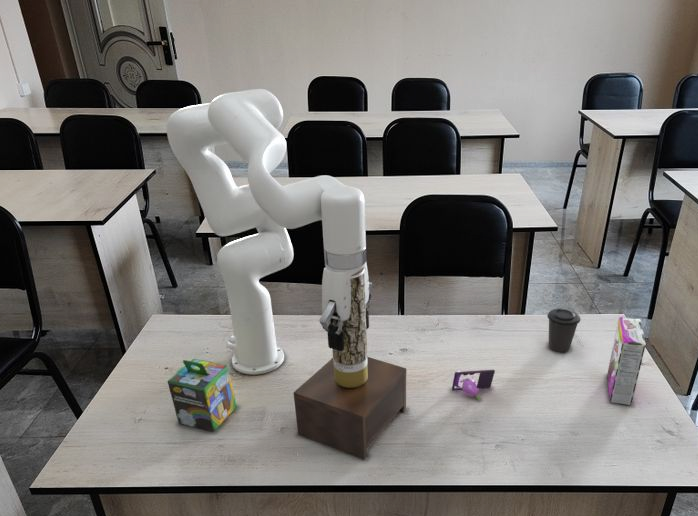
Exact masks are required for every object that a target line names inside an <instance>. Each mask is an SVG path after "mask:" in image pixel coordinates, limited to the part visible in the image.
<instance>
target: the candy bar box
mask: <svg viewBox="0 0 698 516" xmlns="http://www.w3.org/2000/svg"><path fill="white" fill-rule="evenodd" d="M617 319H618V320H617V325H616V328H615V329H616V330H615V334H614V339H613V343H612V344H613V345H612V348H611V355H610V359H609V363H608V369H607V373H606V379H607V387H608V395H609V396H608V398H609V403H610V404H615V405H624V406H632V404H633V399H634V395H635V391H636V389H637V388H636V387H637V383H638V379H639V374H640V372H641V371H640V370H641V367H642V363H643V358H644V353H645V350H646V346H647V345H646V339H645V334H644V329H643V324H642V320H641V318H633V317H625V316H618V318H617Z"/></svg>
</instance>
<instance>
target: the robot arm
mask: <svg viewBox="0 0 698 516" xmlns="http://www.w3.org/2000/svg"><path fill="white" fill-rule="evenodd" d="M283 122H284V110H283V107H282V105H281V102H280V100H279V99H278V98H277V96H276V95H274V94H273V93H272V92H271V91H269V90H267V89H264V88H253V89H247V90H239V91H232V92H227V93H224V94H221V95H219V96H217V97H215V98H214V99H213V100H212V101H211V102H209V103H200V104H196V105H195V104H194V105H189V106H186V107H183V108H180V109H178V110H176V111H174V112H173V113H171V114H170V116H169V118H168V119H167V122H166V135H167V140H168V144H169V146H170V148H171V151H172V153H173V154H174V156H175V158H176V159H177V161H178V163H179V164H180V165H181V167H182V168H183V170H184V171H185V173H186V175H187V176H188V178H189V180H190V182H191V184H192V187H193V189H194V192H195V194H196V197H197V200H198V202H199V204H200V207H201V210H202V212H203V214H204V217H205V219H206V221H207V224H208V226H209V227H210V229H211V231H212V232H213V233H214V234H215V235H217V236H219V237H228V236H233V235H236V234H240V233H243V232H246V231H249V230H252V229H256V230H257V232H258V233H255V234H252V235H248V236H244V237H242V238H239V239H236V240H233V241H230V242H227V244H225V245H223V246H222V247H221V248H220V249H219V251H218V252H217V255H216V265H217V267H218V270H219V273H220V276H221V278H222V281H223V284H224V287H225V288H224V289H225V291H226V298H227V301H228V307H229V312H230V318H231V325H232V331H233V335H230V336H229V338H228V342H227V343H226V346H225V347H226V348H227V349H230V350H233V355H232V357H231V364H232V368H233V369H234V370H235V371H237V372H238V373H241V374H244V375H250V376H251V375H253V376H254V375H256V376H257V375H263V374H267V373H270V372H273V371H275V370H276V369H277V368H279V367H280V366H282V364H283V363H284V361H285V353H284V350H283V349H282V348H281V347H280V346H278V345H277V339H276V332H275V331H276V330H275V324H274V315H273V307H272V299H271V294H270V292H269V290H268V289H267V288H266V287H265V286H264V285H262V284H261V283H260V279H262V278H264V277H266V276H269V275H271V274H274V273H276V272H279V271H282V270H283V269H286V268H287V267H289V266H290V265H291V264H292V263H293V260H294V255H295V253H294V247H293V244H292V242H291V238H290V235H289V233H288V230H294V229H298V228H302V227H304V226H306V225H310V224H312V223H316V222H319V221H321V225H322V238H323V240H322V241H323V253H324V255H323V256H324V266H325V267H324V268H323V273H322V279H321V310H322V311H321V312H322V314H321V316H320V318H319V324H320V325H321V327H322V329H323V330H324V331H325V332H326V333H327V345H328V348H329V349H332V350H333V349H335V350H338V351H343V350H344V337H343V332H341V330H342V327H343V323H344V321H345V320H347V319H348V318H349V317H350V310H351V282H350V278H351V276H352V275H353V274H355V273H356V272H358V271H359V270H360V269H362V268H363V267H364V274H365V304H366V330H368V329H369V328H370V312H369V310H370V308H371V304H370V301H371V299H372V290H373V287H374V283H373V282H370V281H369V270H368V265H367V237H366V235H367V234H366V201H365V200H366V199H365V195H364V193H363V192H362V190H361V189H359V188H357V187H355V186H351V185H346V184H344V183H342V182H341V181H340V180H339V179H337V178H335V177H334V176H331V175H326V174H325V175H317V176H314V177H311V178H307V179H302V180H299V181H296V182H292V183H288V184H284V185H282V184H280V183H279V182H278V181H277V180H276V179H275V178H274V177H273V176H272V175H271V173H273V171H274V170H275V169H276V168H277V167H278V166H279V165H280V164H281V162H282V161H283V160H284V158H285V155H286V151H287V140H286V139H285V137H284V135H283V134H282V132H280V131H279V129H280V128H281V126H282V124H283ZM224 145H225V146H226V145H228V146H230V147H231V149H232V150H234V152H235V153H236V154H237V155H238V156H239V157H240V158H241V159H242V160H243V161H244V162H245V163H246V164H247V165H248V166H247V182H248V184H245V185H240V186H238V185H237V184H236V182H235V180H234V178H233V176H232V172H231V170H230V168H229V166H228V165H227V164H226V162H225V161H224V160H222V159H221V158H220V157H219V155H217V154H216V153H213V152H212V151H211V150H210V148H214V147H220V146H224ZM287 229H288V230H287ZM335 310H336V311H337V314H338V316H340V317H338V316H334V312H335ZM334 319H335V320H339V321H338V324H337V327H336V326H334V325H332V324H333V320H334Z"/></svg>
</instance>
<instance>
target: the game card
mask: <svg viewBox="0 0 698 516" xmlns="http://www.w3.org/2000/svg"><path fill="white" fill-rule="evenodd" d="M495 373H496V371H495V369H483V370H482V369H481V370H467V371H465V370H464V371H460V370H457V371H454V374H453V380H452V386H451V391H463V392H464V393H465V394H466V395H468V396H475V398H476V399H477V401H480V396H479V391H480V389H490V388H491V387H492V384H493V380H494V376H495ZM475 374H479V375H478V379H477V381H475V380H474V379H472V378H464V379H462V380H461V381H460V378H461V376H468V375H469V376H474V375H475ZM459 383H460V384H461V383H462V387H461V386H459Z"/></svg>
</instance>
